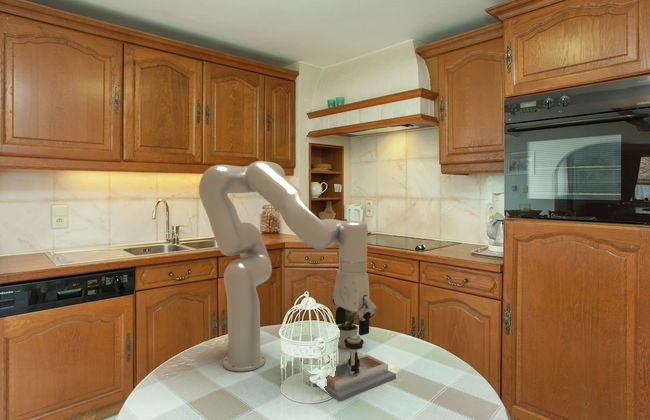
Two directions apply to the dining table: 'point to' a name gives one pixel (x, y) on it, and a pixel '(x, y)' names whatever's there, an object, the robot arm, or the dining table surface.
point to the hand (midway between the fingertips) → (351, 328)
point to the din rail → (367, 371)
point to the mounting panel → (361, 386)
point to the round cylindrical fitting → (353, 353)
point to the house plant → (347, 327)
